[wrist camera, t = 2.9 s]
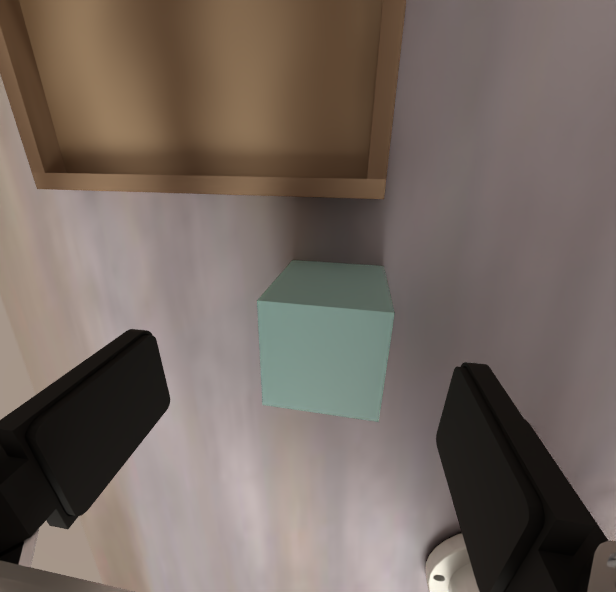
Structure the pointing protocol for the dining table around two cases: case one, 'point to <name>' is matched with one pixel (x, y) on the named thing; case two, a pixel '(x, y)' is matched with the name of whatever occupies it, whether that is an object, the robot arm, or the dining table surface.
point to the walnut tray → (205, 94)
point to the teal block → (326, 338)
